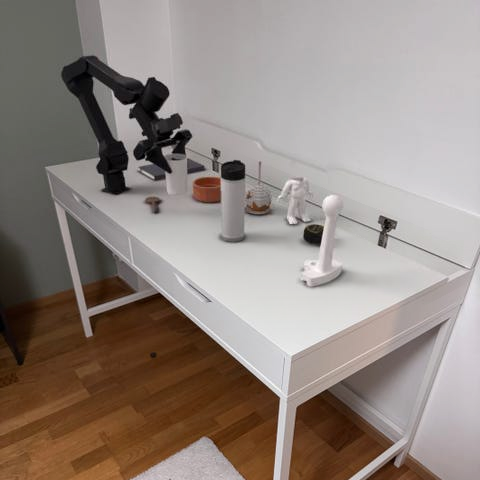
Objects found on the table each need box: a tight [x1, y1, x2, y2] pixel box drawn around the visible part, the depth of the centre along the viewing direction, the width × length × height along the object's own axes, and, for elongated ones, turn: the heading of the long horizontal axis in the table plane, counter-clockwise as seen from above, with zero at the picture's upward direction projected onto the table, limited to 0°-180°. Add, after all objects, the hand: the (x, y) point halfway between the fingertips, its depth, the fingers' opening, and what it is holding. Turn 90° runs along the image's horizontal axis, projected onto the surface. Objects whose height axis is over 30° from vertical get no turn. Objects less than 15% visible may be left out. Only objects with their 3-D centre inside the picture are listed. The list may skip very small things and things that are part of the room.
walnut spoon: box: [144, 196, 161, 214], centre depth 144 cm, size 12×4×1 cm, turn 15°
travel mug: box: [220, 159, 246, 243], centre depth 122 cm, size 6×7×20 cm
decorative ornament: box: [245, 160, 273, 215], centre depth 139 cm, size 8×8×15 cm
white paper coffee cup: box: [163, 153, 188, 196], centre depth 134 cm, size 7×7×10 cm
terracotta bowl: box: [192, 176, 221, 203], centre depth 150 cm, size 11×11×5 cm
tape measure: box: [302, 223, 324, 246], centre depth 125 cm, size 7×7×4 cm
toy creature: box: [276, 176, 314, 225], centre depth 134 cm, size 12×6×12 cm, turn 116°
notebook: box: [138, 157, 205, 181], centre depth 173 cm, size 13×2×21 cm
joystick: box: [300, 194, 344, 288], centre depth 105 cm, size 11×8×20 cm
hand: (179, 170), depth 132 cm, fingers closed on white paper coffee cup, 6 cm apart
